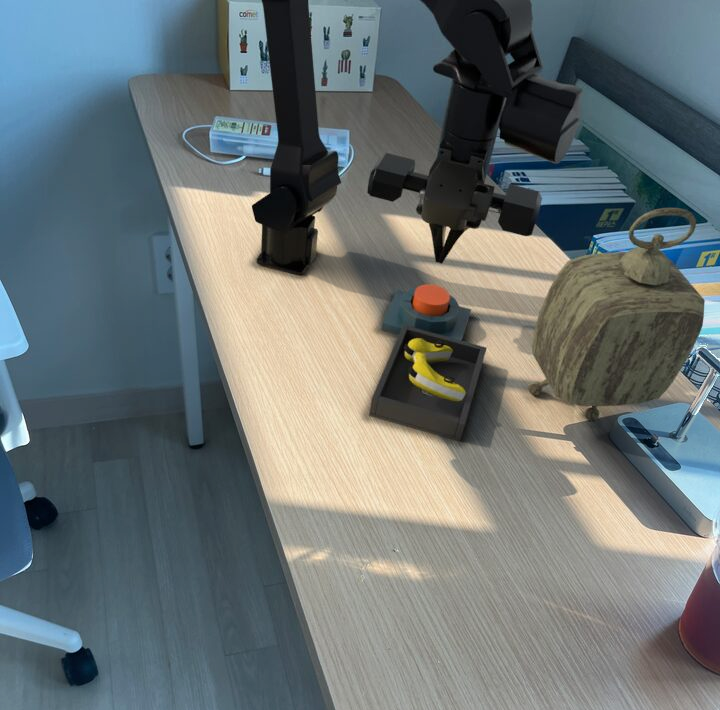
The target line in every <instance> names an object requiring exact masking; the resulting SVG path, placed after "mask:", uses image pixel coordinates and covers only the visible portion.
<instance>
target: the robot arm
mask: <svg viewBox="0 0 720 710" xmlns="http://www.w3.org/2000/svg"><path fill="white" fill-rule="evenodd" d="M419 1H420V2H421V3H422V4H423V5H424V6H425V7H426V8H427V9H428V11H429V12H430V13H431V14H432V15H433V17H434V20H435V22H436V25H437V27H438V28H439V31H440V33H441V35H442V36H443V37H444V39H445V40H446V41H447V42H448V43H449V45H451V47H452V48H453V49H452V50H451V52H450V53H449V54H448V55H447V56H446V57H445V58H444V59H442V60H441V61H439V62H437V63H435V64H434V65H433V66H432V67H433V68H432V70H433V72H434V73H435V74H438V75H441V76H442V77H446V78H449V79H451V83H450V86H449V92H448V96H447V101H446V102H447V103H446V107H445V112H444V117H443V122H442V127H441V132H440V137H439V141H438V147H437V150H436V151H437V152H436V157H435V160H434V161H433V163H432V164H431V166H430V169H429V171H428V175H426V174H423V173H419V172H415V168H416V159H413V158H409V157H404V156H401V155H397V154H392V153H389V152H385V153H384V154H382V155H381V156H379V158H378V160H377V161H376V162H375V165H374V166H373V168H372V169H371V170H370V174H369V178H368V184H367V192H366V193H367V194H368V195H369V197H371V198H372V197H373V198H376V199H381V200H384V201H388V202H392V203H394V202H395V201H397V200H398V199H400V198H401V197H402V196H403V190H406V191H411V192H414V193H419V196H418V198H419V202H418V204H417V206H416V208H415V210H416V211H415V212H416V214H417V215H420V217H421V219H422V221H423V222H425V223H426V224H428V227H429V229H430V234H431V240H432V241H431V242H432V247H433V252H434V261H435V262H436V263H439V264H440V265H441V264H443V263H444V261H445V260H446V259H447V257H448V255H449V254H450V252H451V250H452V249H453V247H454V246H455V244H456V243H457V241H458V240H459V239H460V238H461V236H462V235H463V234H464V233H465V232H466V231H467V230H470V229H474V230H477V229H479V228H480V227H481V224H482V222H485V221H486V220H487V218H488V214H489V212H492V213H496V214H499V217H498V220H497V223H498V225H499V227H500V228H501V230H502V231H504V232H508V233H512V234H516V235H518V236H519V235H520V236H523V237H530V236H532V234H533V233H534V228H535V226H536V223H537V219H538V216H539V213H540V208H541V205H542V201H543V197H542V195H541V193H540V191H538V190H535V189H532V188H527V187H523V186H519V185H516V184H511V183H509V184H508V187H507V190H506V193H505V194H502V193H498V192H495V186H494V185H490V184H487V183H486V179H487V174H488V172H489V167H490V163H491V159H492V155H493V151H494V148H495V144H496V140H497V136H498V132H499V139H500V140H502V141H503V142H504V144H505V145H506V146H509V147H511V148H513V149H515V150H519V151H521V152H524V153H526V154H529V155H532V156H535V157H537V158H540V159H543V160H545V161H548V162H550V163H553V164H555V165H558V164H559V163H561V162H562V161H563V159H564V158H565V156H566V155H567V153H568V151H569V150H570V149H571V146H572V144H573V141H574V139H575V137H576V135H577V132H578V129H579V126H580V123H581V118H580V116H581V112H582V111H581V110H582V103H581V98H582V97H583V93H584V91H583V88H582V87H579V86H576V85H573V84H568V83H561V82H558V81H555V80H552V79H549V78H546V77H544V76H540V75H539V74H540V73H542V71H543V69H544V68H543V64H542V61H541V57H540V54H539V50H538V47H537V43H536V40H535V37H534V33H533V30H532V28H533V27H532V26H533V20H534V16H533V9H532V7H533V4H532V2H531V0H419ZM260 2H261V4H262V9H263V19H264V27H265V28H264V29H265V36H266V44H267V53H268V61H269V62H268V63H269V71H270V78H271V79H270V80H271V88H272V89H271V90H272V96H273V98H272V99H273V103H274V104H273V106H274V114H275V122H276V123H275V124H276V133H277V146H276V149H275V152H274V156H273V158H272V162H271V165H270V170H269V193H268V194H266V195H265V196H264V197H262V198H260V199H259V200H257V201H255V202H254V203H253V204H252V205H251V209H252V213H253V218H254V221H255V222H256V223H257V224H259V225H261V245H260V247H261V248H260V251H261V252H260V253H259V254H258V256H257V258H256V259H255V260H256V262H255V263H256V264H257V265H261V266H265V267H268V268H272V269H276V270H279V271H282V272H285V273H286V272H287V273H289V274H290V273H291V274H294V275H297V276H301V275H303V274H304V272H305V271H306V270H307V268H308V267H309V266H311V264H312V263H313V261H314V260H315V259H316V256H317V247H318V235H319V230H318V229H317V228H315V224H316V215H315V214H317V213H320V212H321V211H322V210H323V209H324V207H325V206H326V205H328V204H329V203H330V202H331V201H332V200H334V198H335V197H336V195H337V192H338V186H339V185H341V184H342V180H341V177H340V174H339V157H340V156H339V153H338V150H328V148H327V147H326V146H325V144H324V142H323V140H322V139H321V137H320V130H319V119H318V104H317V93H316V81H315V69H314V57H313V56H314V55H313V43H312V32H311V31H312V30H311V19H310V17H311V16H310V7H309V5H310V4H309V0H261V1H260ZM509 55H510V56H511V58H512V59H513V61H511V62H510V63H508V61H507V58H506V57H507V56H509ZM447 228H449V231H448V234H447V236H446V231H447Z"/></svg>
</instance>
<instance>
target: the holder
mask: <svg viewBox="0 0 720 710" xmlns="http://www.w3.org/2000/svg"><path fill="white" fill-rule="evenodd" d="M416 338H421V339H423V340H425V341H426V342H429V343H431V344H435V343H436V342H437V341H442V342H443V344H444V345H445V346H448V347H450V348H451V349H452V350H453V352H452V354H451V356H450V358H449V359H447V360H444V361H432V362H427V364H428V365H429V366H430V367H431V368H432V369H433V370H434V371H435V372H436V373H437V374H439V375H440V376H442V377H444V378H445V377H446V376H452V377H453V378H454V383H456V384H458V385H460V386H461V387H463V389H464V390H465V392H466V394H465V396H464V398H463V399H462V401H452V400H447V399H444V398H440V397H437V396H435V395H433V394H432V395H433V396H432V397H431V396H426V395H423V393H422V390H420V388H417V387H416V386H415V385H414V384H412V382H411V381H410V379H409V368H410V367H411V366H413V365H414V364H415V363H414V362H412V361H409V360H407V359H406V357H405V350H404V346H405V345H406V344H408V343H409V342H410V341H411V340H413V339H416ZM438 344H439V345H441V344H442V343H438ZM487 348H488V347H487V346H482V345H478V344H475V343H471V342H468V341H464V340H462V341H461V340H457V339H454V338H450V337H446V336H443V335H439V334H435V333H432V332H428V331H424V330H421V329H417V328H413V327H410V326H409V327H408V326H406V325H403V326H402V329H401V331H400V333H399V335H397V338H396V341H395V343H394V345H393V347H392V350H391V352H390V354H389V357H388V359H387V362H386V364H385V366H384V368H383V371H382V373H381V375H380V378H379V380H378V382H377V385H376V387H375V390H374V392H373V395H372V396H371V401H370V406H369V413H368V416H369V417H372V418H376V419H379V420H383V421H386V422H388V423H393V424H396V425H400V426H403V427H407V428H411V429H413V430H417V431H421V432H424V433H426V434H431V435H434V436H438V437H442V438H445V439H447V440H448V439H449V440H452V441H455V442H459V443H460V442H461V440H462V437H463V433H464V430H465V427H466V424H467V421H468V416H469V412H470V409H471V406H472V401H473V399H474V395H475V392H476V388H477V384H478V381H479V376H480V373H481V370H482V366H483V362H484V359H485V355H486V352H487ZM446 379H448V380H450V381H452V379H451V378H450V377H446Z"/></svg>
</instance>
